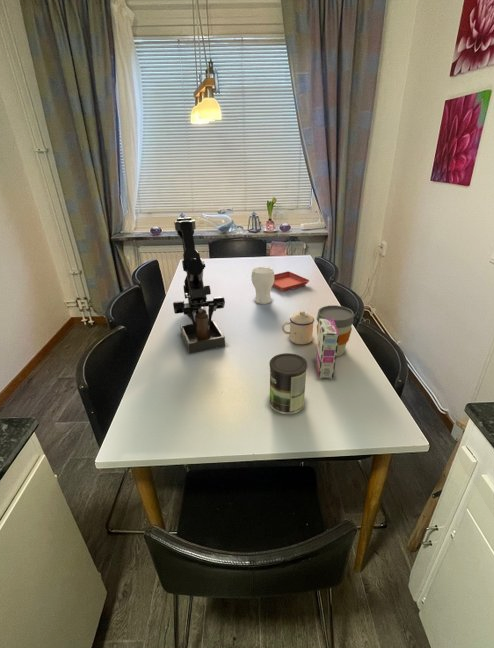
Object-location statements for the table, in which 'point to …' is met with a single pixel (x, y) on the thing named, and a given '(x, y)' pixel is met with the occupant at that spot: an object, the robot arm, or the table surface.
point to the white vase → (262, 283)
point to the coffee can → (287, 383)
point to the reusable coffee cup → (338, 323)
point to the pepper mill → (202, 325)
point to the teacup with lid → (300, 328)
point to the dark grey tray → (196, 346)
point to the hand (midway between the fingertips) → (202, 326)
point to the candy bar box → (326, 348)
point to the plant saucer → (288, 281)
